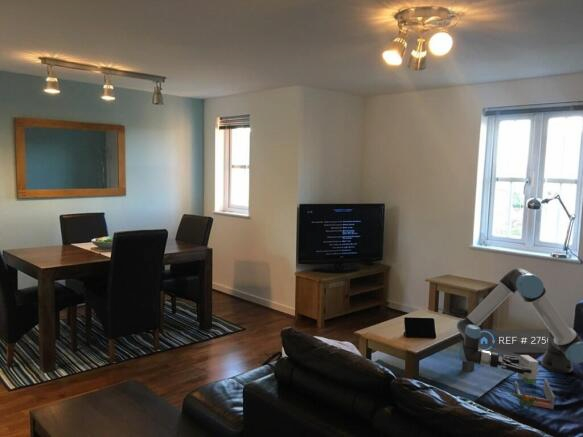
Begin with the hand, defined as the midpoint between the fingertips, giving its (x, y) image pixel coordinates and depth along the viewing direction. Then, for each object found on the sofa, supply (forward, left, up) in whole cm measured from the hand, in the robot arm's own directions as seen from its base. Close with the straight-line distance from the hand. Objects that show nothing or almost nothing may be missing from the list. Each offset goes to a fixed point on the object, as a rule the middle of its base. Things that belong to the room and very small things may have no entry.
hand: (537, 368), depth 240 cm
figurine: (+10, +29, -8) cm, 32 cm away
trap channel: (+4, +16, -8) cm, 18 cm away
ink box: (+4, 0, -7) cm, 9 cm away
